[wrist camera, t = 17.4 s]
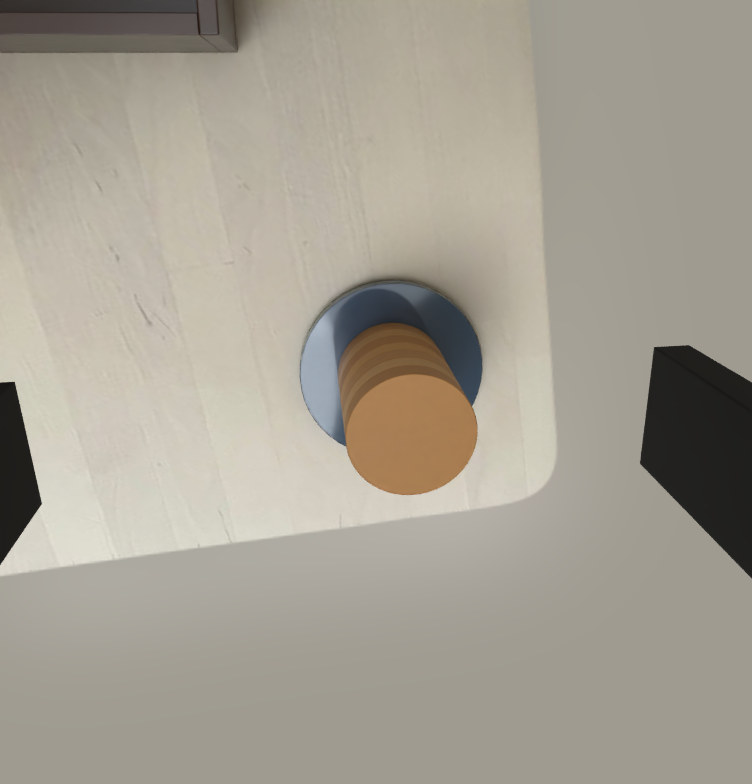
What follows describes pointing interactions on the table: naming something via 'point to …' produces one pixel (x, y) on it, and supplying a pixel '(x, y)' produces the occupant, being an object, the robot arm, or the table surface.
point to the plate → (374, 308)
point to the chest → (117, 26)
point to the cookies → (403, 411)
